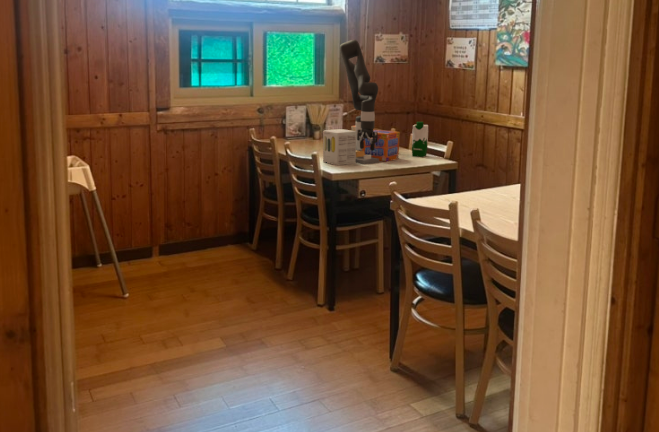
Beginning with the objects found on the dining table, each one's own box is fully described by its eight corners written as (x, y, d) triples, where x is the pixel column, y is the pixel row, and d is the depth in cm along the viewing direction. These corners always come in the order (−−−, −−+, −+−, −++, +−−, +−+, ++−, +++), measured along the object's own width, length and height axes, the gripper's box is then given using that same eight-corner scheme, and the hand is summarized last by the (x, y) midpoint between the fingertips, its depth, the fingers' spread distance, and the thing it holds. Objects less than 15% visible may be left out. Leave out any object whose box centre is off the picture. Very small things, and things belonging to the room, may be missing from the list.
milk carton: (410, 156, 413) (411, 122, 408) (413, 154, 421) (415, 120, 417) (425, 157, 410) (426, 122, 406) (428, 155, 419) (429, 121, 414)
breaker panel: (357, 158, 405) (357, 151, 404) (379, 162, 391) (379, 155, 390) (342, 159, 398) (342, 152, 397) (363, 164, 384) (364, 156, 384)
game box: (361, 159, 401) (362, 131, 398) (374, 156, 414) (375, 129, 411) (386, 162, 393) (386, 134, 390) (398, 158, 406) (399, 131, 402)
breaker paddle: (362, 156, 397) (361, 151, 397) (365, 155, 395) (364, 150, 395) (356, 157, 394) (354, 152, 394) (358, 156, 392) (357, 151, 392)
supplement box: (322, 162, 390) (322, 130, 386) (341, 160, 398) (341, 128, 394) (337, 165, 380) (337, 132, 376) (356, 163, 388) (356, 131, 384)
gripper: (381, 120, 382) (380, 150, 386) (364, 118, 393) (363, 147, 397) (371, 121, 378) (370, 151, 382) (353, 119, 389) (353, 148, 392)
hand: (367, 149), depth 389 cm, fingers open, 8 cm apart
